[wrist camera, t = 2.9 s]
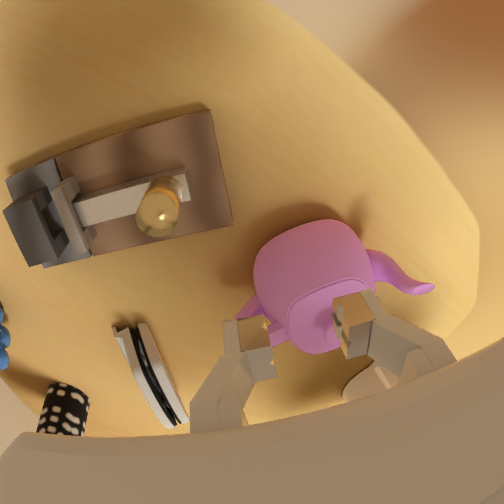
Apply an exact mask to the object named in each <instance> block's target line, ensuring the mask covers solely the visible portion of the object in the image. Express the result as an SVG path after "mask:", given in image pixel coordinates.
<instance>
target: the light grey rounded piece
mask: <svg viewBox="0 0 504 504" xmlns="http://www.w3.org/2000/svg"><path fill="white" fill-rule="evenodd" d="M112 330H113V335H114V337H115V339H116V341H117V343H118V345H119V347H120V348H121V350H122V352H123V354H124V356H125V358H126V359H127V361H128V363H129V365H130V367H131V370H132V373H133V375H134V378H135V380H136V382H137V384H138V386H139V387H140V389H141V391H142V393H143V395H144V397H145V398H146V400H147V402H148V404H149V405H150V407H151V409H152V410H153V412H154V413H155V415H156V416H157V418H158V419H159V420H160V422H161V423H162V424H163V425H164V426H165V427H166V428H167V429H169V428H175V425H177V423H176V420H177V421H178V422H179V423H180V424H181V423H182V424H185V423H186V422H188V421H190V419H189V417H188V415H187V413H186V410H185V408H184V406H183V403H182V401H181V399H180V396H179V394H178V392H177V389H176V387H175V385H174V383H173V381H172V379H171V377H170V375H169V373H168V371H167V369H166V366H165V364H164V362H163V360H162V358H161V355H160V353H159V351H158V349H157V346H156V344H155V342H154V340H153V337H152V335H151V333H150V330H149V328H148V325H147V323H139V324H138V327H137V328H136V331H137V334H138V338H139V339H138V340H137V339H136V336H135V334H134V332H133V330H132V329H131V330H129V328H128V327H127V328H126V329H124V330H122V331H120V332H118V331H117V329H116V327H112ZM146 366H148V367H149V370H150V372H151V373H150V372H149V370H148V368H147V367H146ZM174 417H175V418H176V420H175V418H174Z"/></svg>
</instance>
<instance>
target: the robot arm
mask: <svg viewBox="0 0 504 504" xmlns="http://www.w3.org/2000/svg"><path fill="white" fill-rule="evenodd" d="M332 307H333V309H334V313H333V314H332V324H333V329H334V332H335V335H336V337H337V339H339V340H341V349H342V351H343V353H344V356H345V358H346V360H348V359H352V358H355V357H359V356H363V355H367V354H368V356H369V357H370V358H372V359H373V360H375V361H374V362H373V363H372V364H371V365H370V366H369V367H368V368H366V369H365V370H363V371H362V372H360V373H359V374H358V375H356V376H355V377H354V378H353V379H352V380H351V381H350V382H349V383H348V384H347V385H346V387H345V388H344V390H343V393H342V398H343V400H344V401H345V402H346V403H344V404H340V405H337V406H333V407H329V408H326V409H322V410H318V411H314V412H310V413H306V414H302V415H298V416H293V417H289V418H284V419H279V420H275V421H269V422H264V423H259V424H253V425H249V424H248V421H247V419H246V416H245V414H244V411H243V408H244V405H245V403H246V401H247V399H248V397H249V395H250V392H251V390H252V388H253V386H254V382H258V381H262V380H267V379H271V378H275V377H277V375H276V369H275V364H274V360H273V353H272V348H271V343H270V339H269V334H268V331H267V326H266V321H265V317H264V314H261V315H256V316H250V317H245V318H239V319H235V320H229V321H223V324H222V326H223V337H224V349H225V355H224V356H221V357H220V359H219V360H218V362H217V363H216V365H215V366H214V368H213V369H212V371H211V372H210V374H209V375H208V377H207V378H206V380H205V381H204V383H203V384H202V386H201V387H200V389H199V390H198V392H197V393H196V395H195V396H194V398H193V399H192V401H191V402H190V433H186V434H175V435H160V436H138V437H90V436H70V435H56V434H45V433H36V432H24V433H21V434H20V435H19V436H18V437H17V438H16V439H15V440H14V441H13V442H12V443H11V444H10V445H9V446H8V447H7V449H6V450H5V451H4V452H3V454H2V455H1V458H0V504H504V337H503V338H501V339H499V340H498V341H496V342H494V343H492V344H490V345H488V346H486V347H484V348H482V349H480V350H479V351H477V352H475V353H473V354H471V355H469V356H467V357H464V358H462V359H460V360H458V361H457V360H456V359H455V357H454V356H453V354H452V353H451V351H450V350H449V348H448V347H447V345H446V344H445V342H444V341H443V339H442V338H440V337H438V336H436V335H434V334H432V333H429V332H427V331H425V330H423V329H421V328H419V327H417V326H415V325H413V324H411V323H409V322H406V321H404V320H402V319H400V318H398V317H396V316H394V315H391V316H389V315H388V313H387V311H386V310H385V308H384V307H383V305H382V304H381V302H380V301H379V299H378V298H377V296H376V295H375V293H374V292H373V290H372V289H370V288H369V289H366V290H362V291H358V292H355V293H351V294H347V295H344V296H340V297H336V298H333V300H332Z"/></svg>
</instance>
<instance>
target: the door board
mask: <svg viewBox="0 0 504 504" xmlns="http://www.w3.org/2000/svg"><path fill="white" fill-rule="evenodd" d="M183 167H186V169H187V173H188V177H189V181H190V185H191V189H192V197H191V200H189V201H185V202H181V204H180V209H179V214H178V220H177V224H176V227H175V228H174V230H173V231H172V232H171V233H169V234H168V235H166V236H163V237H152V236H149V235H147V234H145V233H144V232H142V231H141V230H140V228H139V227H138V225H137V223H136V218H135V215H136V213H135V214H131V215H127V216H123V217H119V218H115V219H111V220H108V221H104V222H100V223H97V224H93V225H89V226H86V227H82V228H81V226H80V223H79V221H78V219H77V216H76V213H75V211H74V208H73V206H72V203H71V201H72V200H73V198H75V197H78V196H81V195H85V194H88V193H91V192H94V191H98V190H101V189H104V188H108V187H111V186H114V185H118V184H121V183H125V182H128V181H132V180H136V179H139V178H143V177H147V176H151V175H155V174H159V173H163V172H167V171H171V170H175V169H179V168H183ZM5 181H6V184H7V187H8V189H9V192H10V194H11V197H12V200H13V203H11V204H10V205H9V206H8V207H7V208H6V209H5V210H3V213H4V215H5V218H6V220H7V222H8V224H9V227H10V229H11V231H12V233H13V235H14V238H15V240H16V242H17V244H18V246H19V248H20V250H21V252H22V254H23V256H24V258H25V260H26V262H27V264H28V266H29V267H31V266H35V265H38V264H42V265H43V267H44V268H48V267H51V266H55V265H59V264H63V263H68V262H72V261H76V260H80V259H84V258H88V257H91V256H92V254H93V256H96V255H100V254H105V253H109V252H113V251H117V250H122V249H126V248H130V247H135V246H139V245H144V244H148V243H152V242H157V241H161V240H166V239H170V238H175V237H180V236H184V235H189V234H193V233H198V232H203V231H208V230H212V229H217V228H222V227H227V226H232V225H233V219H232V214H231V209H230V204H229V200H228V195H227V190H226V185H225V180H224V176H223V171H222V166H221V161H220V156H219V151H218V146H217V141H216V136H215V132H214V127H213V122H212V117H211V112H210V110H205V111H200V112H196V113H191V114H187V115H183V116H179V117H175V118H171V119H167V120H163V121H159V122H155V123H152V124H148V125H144V126H141V127H137V128H134V129H131V130H127V131H124V132H121V133H118V134H115V135H111V136H108V137H105V138H102V139H99V140H97V141H94V142H91V143H88V144H85V145H82V146H80V147H77V148H74V149H72V150H69V151H66V152H64V153H62V154H59V155H56V156H54V157H51V158H49V159H46V160H44V161H42V162H39V163H37V164H35V165H32V166H30V167H28V168H26V169H23V170H21V171H19V172H17V173H15V174H13V175H12V176H10V177H9V178H7V179H6V180H5Z"/></svg>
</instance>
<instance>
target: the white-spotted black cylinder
mask: <svg viewBox="0 0 504 504" xmlns="http://www.w3.org/2000/svg"><path fill="white" fill-rule="evenodd" d="M89 405H90V400H89V398H88V397H87V396H86V395H85V394H84V393H83V392H82V391H80V390H79V389H77V388H75V387H73V386H70V385H67V384H63V383H53V384H51V385H50V386H49V388H48V391H47V395H46V398H45V401H44V405H43V408H42V412H41V416H40V419H39V423H38V427H37V431H36V433H45V434H56V435H70V436H84V431H85V426H86V420H87V415H88V410H89Z"/></svg>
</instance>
